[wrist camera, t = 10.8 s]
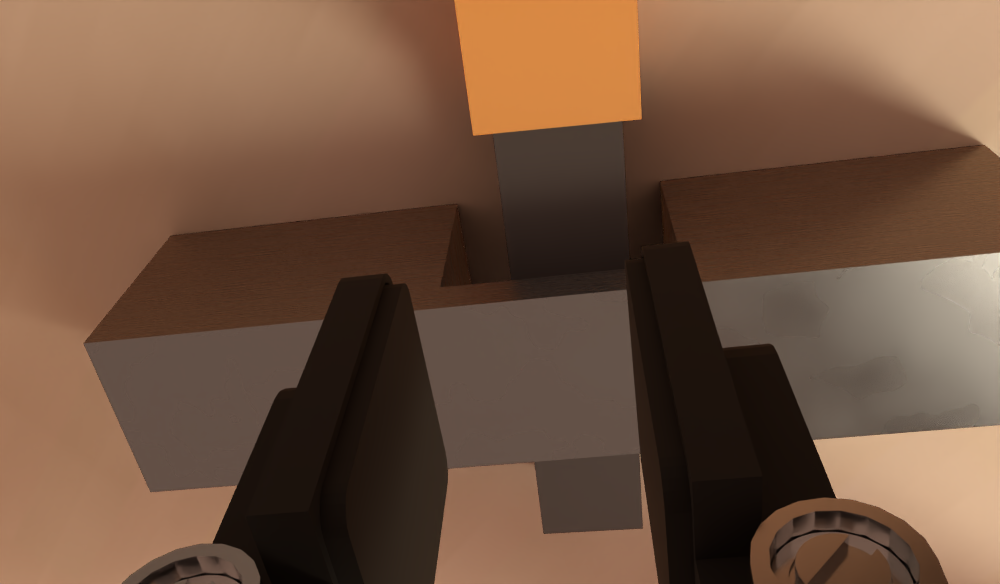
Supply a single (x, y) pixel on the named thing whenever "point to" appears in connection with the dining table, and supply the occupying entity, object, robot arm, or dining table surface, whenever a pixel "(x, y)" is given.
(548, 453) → the grey bridge bar
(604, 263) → the dark grey long bar
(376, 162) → the dining table surface
